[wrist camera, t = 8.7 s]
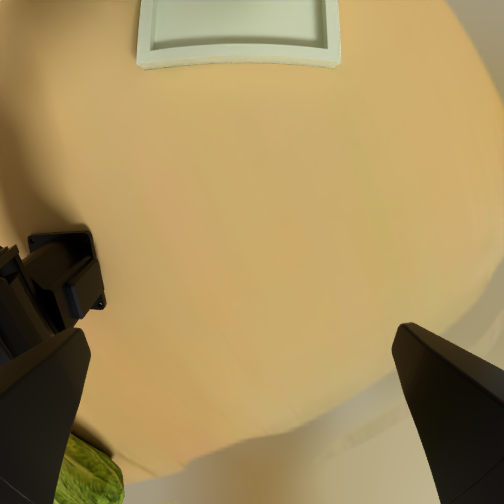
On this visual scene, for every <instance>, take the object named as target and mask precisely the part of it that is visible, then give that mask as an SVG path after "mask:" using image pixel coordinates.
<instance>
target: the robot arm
mask: <svg viewBox="0 0 504 504" xmlns="http://www.w3.org/2000/svg"><path fill="white" fill-rule="evenodd" d="M84 236H86V237H87V240H85V239H84ZM32 239H33V240H34V242H33V240H32ZM28 245H29V249H30V253H31V254H29V255H28V256H27V257H25V258H24V259H23V260H21V258H20V256H19V254H18V253H19V250H18V248H17V245H14V246H12V247H10V248H8V246H6V247H5V248H3V247H1V246H0V504H53V503H54V498H55V493H56V488H57V483H58V479H59V474H60V470H61V466H62V462H63V458H64V454H65V451H66V447H67V443H68V440H69V436H70V433H71V429H72V426H73V423H74V419H75V416H76V413H77V410H78V407H79V403H80V400H81V396H82V392H83V387H84V383H85V379H86V374H87V370H88V366H89V362H90V358H91V352H90V348H89V346H88V343H87V340H86V337H85V335H84V332H83V331H82V329H80V328H74V326H75V324H76V323H77V321H78V320H79V319H83V318H84V317H85V315H86V314H87V312H88V311H89V309H95V310H103V309H104V308H105V306H106V299H105V295H104V291H103V290H104V285H103V281H102V276H101V272H100V267H99V262H98V260H97V258H96V254H95V249H94V244H93V238H92V235H91V233H90V232H88V231H72V232H54V233H37V234H31V235H30V236H29V237H28ZM99 302H100V303H101V304H102V305H101V304H99ZM392 355H393V358H394V362H395V365H396V369H397V372H398V375H399V379H400V383H401V386H402V390H403V393H404V396H405V399H406V402H407V404H408V407H409V409H410V412H411V415H412V417H413V420H414V423H415V425H416V428H417V430H418V434H419V436H420V439H421V442H422V445H423V448H424V450H425V454H426V457H427V460H428V463H429V466H430V469H431V472H432V475H433V479H434V482H435V486H436V489H437V492H438V496H439V500H440V503H441V504H504V370H502V369H500V368H498V367H496V366H495V365H493V364H491V363H489V362H487V361H485V360H483V359H481V358H480V357H478V356H476V355H474V354H472V353H470V352H468V351H466V350H464V349H462V348H460V347H459V346H457V345H455V344H453V343H451V342H449V341H447V340H445V339H444V338H442V337H440V336H438V335H436V334H434V333H432V332H430V331H428V330H426V329H425V328H423V327H421V326H419V325H417V324H415V323H412V322H410V323H403V324H400V325H399V327H398V329H397V332H396V335H395V338H394V341H393V344H392Z"/></svg>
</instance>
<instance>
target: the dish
mask: <svg viewBox="0 0 504 504" xmlns="http://www.w3.org/2000/svg"><path fill="white" fill-rule="evenodd" d="M214 63H276V64H293V65H305V66H316V67H325V68H334V67H335V66H337V65H338V64H340V63H341V45H340V26H339V12H338V0H141V8H140V18H139V29H138V43H137V61H136V65H138V66H139V67H141V68H142V69H144V70H150V69H158V68H166V67H175V66H185V65H197V64H214Z"/></svg>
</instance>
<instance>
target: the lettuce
mask: <svg viewBox="0 0 504 504" xmlns="http://www.w3.org/2000/svg"><path fill="white" fill-rule="evenodd" d="M124 497H125V494H124V483H123V475H122V472H121V469H120V468H119V467H118V466H117V465H116V464H115V463H114V462H113V461H112V460H111V459H110V458H109V457H108V456H107V455H106V454H104V453H102V452H101V451H99V450H97V449H96V448H94V447H93V446H91V445H89V444H87V443H85V442H84V441H82V440H80V439H79V438H77V437H76V436H74V435H73V434H71V433H70V436H69V440H68V443H67V447H66V451H65V454H64V458H63V462H62V466H61V470H60V474H59V479H58V483H57V488H56V493H55V498H54V503H53V504H122V502H123V499H124Z"/></svg>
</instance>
